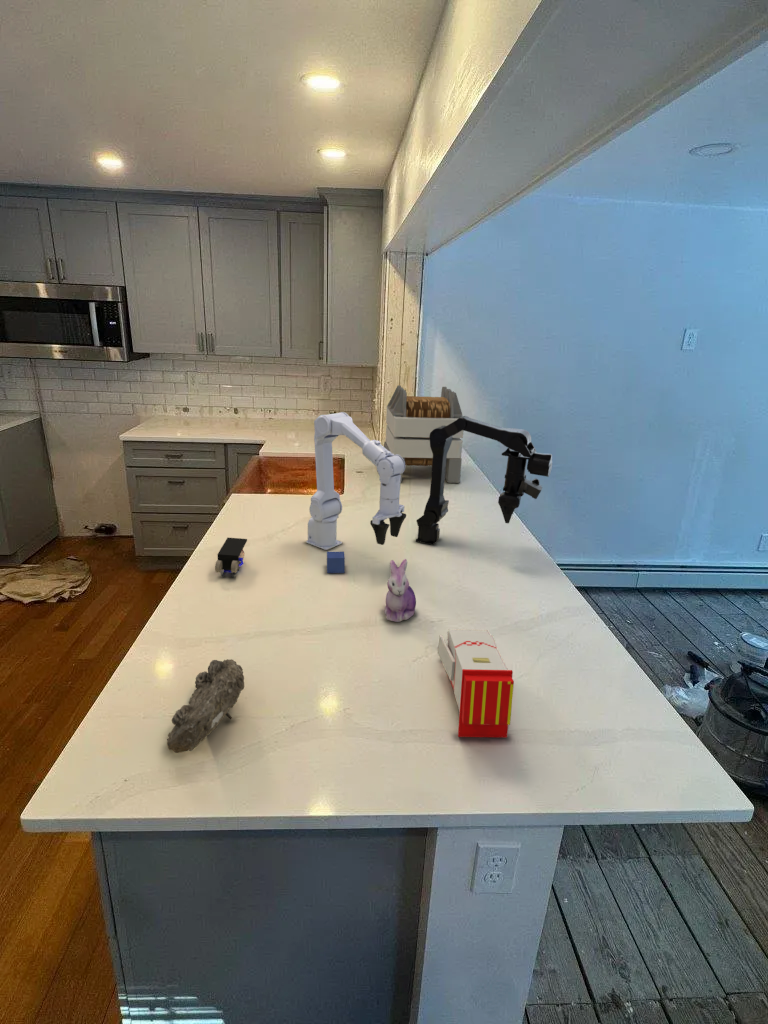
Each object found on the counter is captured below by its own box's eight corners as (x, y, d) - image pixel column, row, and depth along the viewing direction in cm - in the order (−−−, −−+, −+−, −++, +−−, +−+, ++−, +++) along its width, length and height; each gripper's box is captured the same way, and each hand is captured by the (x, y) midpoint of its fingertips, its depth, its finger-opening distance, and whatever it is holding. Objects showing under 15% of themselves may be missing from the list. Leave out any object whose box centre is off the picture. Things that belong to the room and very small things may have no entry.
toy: (488, 613, 130) (523, 677, 101) (484, 667, 133) (517, 744, 104) (435, 612, 130) (455, 676, 101) (432, 666, 133) (451, 743, 103)
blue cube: (344, 573, 169) (344, 557, 167) (327, 573, 168) (327, 557, 166) (343, 566, 173) (344, 551, 171) (326, 566, 173) (326, 551, 171)
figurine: (392, 627, 141) (395, 572, 136) (374, 608, 149) (376, 556, 144) (425, 619, 145) (429, 566, 140) (405, 601, 154) (408, 550, 149)
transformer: (382, 463, 289) (386, 382, 275) (445, 464, 293) (451, 384, 279) (390, 482, 257) (394, 392, 243) (460, 483, 261) (468, 394, 247)
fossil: (192, 660, 117) (244, 628, 112) (224, 691, 120) (276, 661, 115) (142, 746, 98) (202, 712, 93) (182, 779, 101) (242, 748, 96)
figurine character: (238, 584, 162) (249, 557, 175) (236, 562, 158) (247, 536, 172) (215, 584, 161) (227, 556, 175) (212, 561, 158) (225, 535, 171)
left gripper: (387, 506, 157) (385, 551, 162) (414, 493, 169) (411, 535, 173) (366, 500, 160) (365, 544, 165) (393, 488, 172) (391, 530, 177)
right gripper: (539, 482, 164) (532, 532, 169) (544, 467, 180) (537, 513, 186) (501, 477, 167) (494, 526, 173) (509, 462, 184) (503, 508, 189)
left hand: (387, 539), depth 169 cm, fingers open, 7 cm apart
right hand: (509, 518), depth 180 cm, fingers open, 9 cm apart
